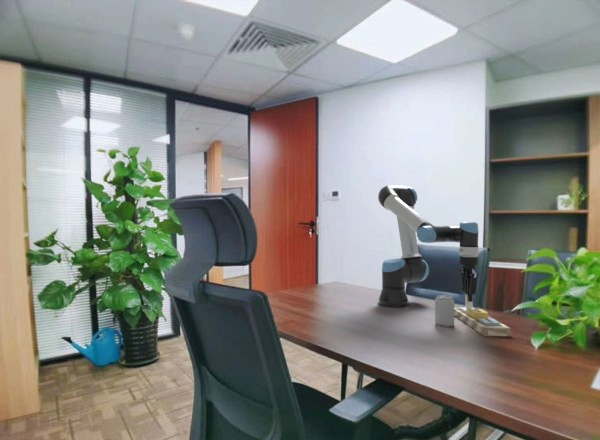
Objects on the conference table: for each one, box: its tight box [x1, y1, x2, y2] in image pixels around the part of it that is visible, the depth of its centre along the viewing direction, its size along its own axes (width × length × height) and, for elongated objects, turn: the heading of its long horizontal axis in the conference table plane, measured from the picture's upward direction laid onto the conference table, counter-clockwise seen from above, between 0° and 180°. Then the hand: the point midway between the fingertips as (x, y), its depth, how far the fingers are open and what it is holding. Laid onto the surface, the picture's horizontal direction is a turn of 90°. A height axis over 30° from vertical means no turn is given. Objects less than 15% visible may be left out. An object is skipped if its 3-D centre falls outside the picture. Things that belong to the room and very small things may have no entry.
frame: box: [454, 307, 512, 337], centre depth 143 cm, size 30×10×3 cm, turn 178°
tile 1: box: [459, 306, 474, 314], centre depth 152 cm, size 6×6×3 cm
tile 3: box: [478, 318, 501, 326], centre depth 135 cm, size 6×6×3 cm
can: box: [434, 294, 455, 328], centre depth 142 cm, size 8×8×12 cm
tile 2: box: [468, 308, 489, 319], centre depth 143 cm, size 6×6×3 cm
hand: (468, 308), depth 152 cm, fingers closed
